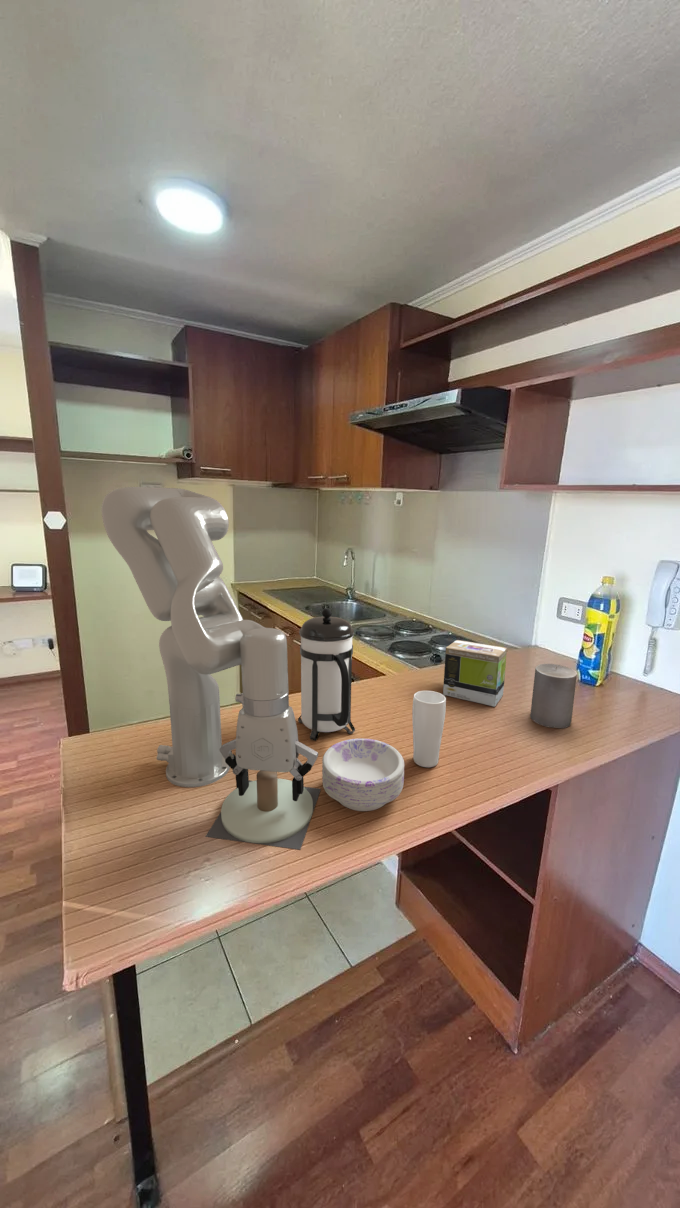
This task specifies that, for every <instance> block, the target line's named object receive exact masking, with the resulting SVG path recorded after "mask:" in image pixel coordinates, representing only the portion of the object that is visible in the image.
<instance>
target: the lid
mask: <svg viewBox="0 0 680 1208" xmlns="http://www.w3.org/2000/svg"><path fill="white" fill-rule="evenodd" d="M251 781H252V782H249V787H248V789H247V790H246V792H245V793H244V795H243V796H239V790H238V788H237V787H236V788H237V789H236V788H235V789H233V791H231V792H230V793H229V794H228V795H227V797H225V798H224V800H223V802H222V805H221V809H220V813H221V819H222V824H223V826H224V828H225V829H226V831H227V832H228V833H229V834H231V835H232V836H234V837H235V838H237V839H239V840H242V841H245V842H244V843H247V842H250V843H249V844H254V843H272V842H277V841H281V840H284V839H287V838H289V837H291V836H293V835H295V834H297V833H298V832H300V831H301V830H302V829H303V828H304V827H305V826H306V825H307V824H308V822H309V821H310V822H311V820H310V819H312V816H313V814H314V811H313V801H312V797H311V795H310V793H309V792H308V791H307V790H306V789H305V788H304V790H303V793H302V794H300V795H299V797H298V800H297V801H294V800H293V796H292V780H290V779H285V778H278V772H271V771H259V770H258V771H257V772H256V780H251ZM312 813H313V814H312Z"/></svg>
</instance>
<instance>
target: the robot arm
mask: <svg viewBox="0 0 680 1208" xmlns="http://www.w3.org/2000/svg"><path fill="white" fill-rule="evenodd" d="M101 516H102V524H103V526H104V530H105V533H106V535H107V537H108V539H109V540H110V541H109V542H110V543H111V544H112V546H113V547H114V548H115V550H116V551H117V552H118V554H119V555H120V557H122V559H123V561H124V562H125V563H126V564H127V566H128V568H129V570H130V571H131V573H132V575H133V578H134V581H135V582H136V585H137V587H138V589H139V591H140V593H141V596H142V597H143V600H144V602H145V604H146V606H147V608H148V610H149V611H150V613H151V614H152V616H153V617H154V618H155V619H156V620H159V621H161V622H170V623H171V625H170V626H168V627H167V628H165V629H164V630H163V632H162V633H161V635H160V637H159V639H158V640H159V641H158V643H159V644H158V647H159V652H160V653H159V654H160V657H161V660H162V663H163V667H164V670H165V676H166V682H167V691H168V693H167V695H168V704H169V717H170V718H169V719H170V730H171V731H170V732H171V744H172V745H171V746H169V745H163V744H160V745H159V746H158V747H157V748H156V752H157V754H156V760H157V761H160V762H161V761H163V762H164V761H166V762H167V763H168V764H167V766H166V769H165V776H166V779H167V780H168V782H169V783H171V785H174V786H178V787H180V788H198V787H200V788H201V787H205V786H207V785H211V784H213V783H215V782H217V781H220V780H221V779H222V778H223V777H225V776H226V775H227V774H228V773H229V771H230V769H231V770H232V774H234V775H235V783H236V784H235V785H236V786H235V787H236V788H238V790H239V796H243V795H244V793H245V792H246V790H247V789H248V787H249V780H250V779H249V770H251V771H258V772H259V771H271V772H277V773H290V774H291V775H292V780H291V781H292V796H293V800H294V801H297V800H298V797H299V795H300V794H302V793H303V790H304V787H305V785H304V783H305V782H304V776H306V775H307V774H308V773H309V772H310V771H311V770H312V768H313V766H314V765H315V763H316V761H317V759H318V757H319V752H318V751H316V750H315V749H313V748H312V747H309V746H308V745H306V744H304V743H302V742H300V741H299V735H298V734H299V733H298V727H297V720H296V717H295V716H296V715H295V713H294V709H293V707H292V706H290V702H289V701H290V699H289V698H290V697H289V693H290V692H289V667H288V665H289V664H288V641H287V640H288V639H287V636H286V634H285V633H284V631H282V630H281V629H278V628H273V627H265V626H263V625H261V624H260V623H258V622H256V621H254V620H251V619H244V617H243V615H242V614H241V612H240V611H239V608H238V606H237V604H236V602H235V600H234V599H233V597H232V595H231V592H230V590H229V589H228V587H227V585H226V583H225V582H224V580H223V579H222V577H221V576H220V575H222V572H223V570H224V564H223V561H222V559H221V558H220V555H219V553H218V551H217V550H216V548H215V546H214V543H213V542H216V541H219V540H222V539H223V538H224V537H225V536H226V535H227V534H228V531H229V526H230V524H229V523H230V522H229V521H230V520H229V516H228V513H227V511H226V509H225V508H224V506H223V505H222V503H220V501H218V500H217V499H216V498H213V497H211V496H207V495H205V494H200V493H198V492H195V491H193V490H188V489H185V488H175V487H152V486H127V487H126V486H125V487H121V488H120V487H119V488H115V489H113V490H112V491H108V493H107V494H106V495H104V497H103V500H102V504H101ZM149 531H154V533H155V536H156V537H157V538H156V537H155V536H154V535H151V534H150V533H149ZM199 616H201V617H199ZM237 666H241V683H242V692H241V693H236V695H235V702H236V703H240V704H241V706H242V708H241V709H239V711H238V715H237V722H236V732H235V735H236V736H235V739H233V740H230V741H228V742H226V743H224V744H223V742H222V741H223V739H222V723H221V719H222V718H221V702H220V701H221V698H220V689H219V688H220V687H219V684H218V682H217V679H216V678H215V677H213V675H212V674H216V673H219V672H222V671H225V670H228V669H231V668H234V667H237ZM233 750H234V751H235V754H234V753H233V752H232V751H233ZM300 755H301V756H303V757H305V758H306V759H307V760H306V761H305V762H304V763H302V762H301V760H300V759H299V756H300Z"/></svg>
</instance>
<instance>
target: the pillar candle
mask: <svg viewBox="0 0 680 1208" xmlns="http://www.w3.org/2000/svg"><path fill="white" fill-rule="evenodd" d="M534 669H535V670H534V676H533V678H534V680H533V688H532V696H531V706H530V714H529V717H530V719H531V720H532V721H533V722H534V723H536V724H538V725H540V726H543V727H546V728H555V729H566V728H568V727H570V726H571V723H572V719H573V713H574V705H575V704H574V702H575V693H576V686H577V685H576V684H577V679H578V678H577V677H578V672H577V671H576V670H575V669H573V668H572V667H569V666H566V665H563V664H562V665H561V664H556V663H540V664H538V665H536V666H535V668H534Z"/></svg>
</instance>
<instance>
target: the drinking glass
mask: <svg viewBox="0 0 680 1208" xmlns="http://www.w3.org/2000/svg"><path fill="white" fill-rule="evenodd" d="M446 705H447V697H446V695H443V693H440V692H437V691H433V690H419V691H417V692H415V693H414V694H413V699H412V718H411V719H412V738H413V739H412V740H413V742H412V744H413V745H412V746H413V753H412V755H413V757H412V759H413V762H414V763H415V764H416V765H417V766H419V767H422V768H433V767H435V766H437V765H438V763H439V759H440V750H441V744H442V738H443V732H444V725H445V720H446V709H447V707H446Z"/></svg>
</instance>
